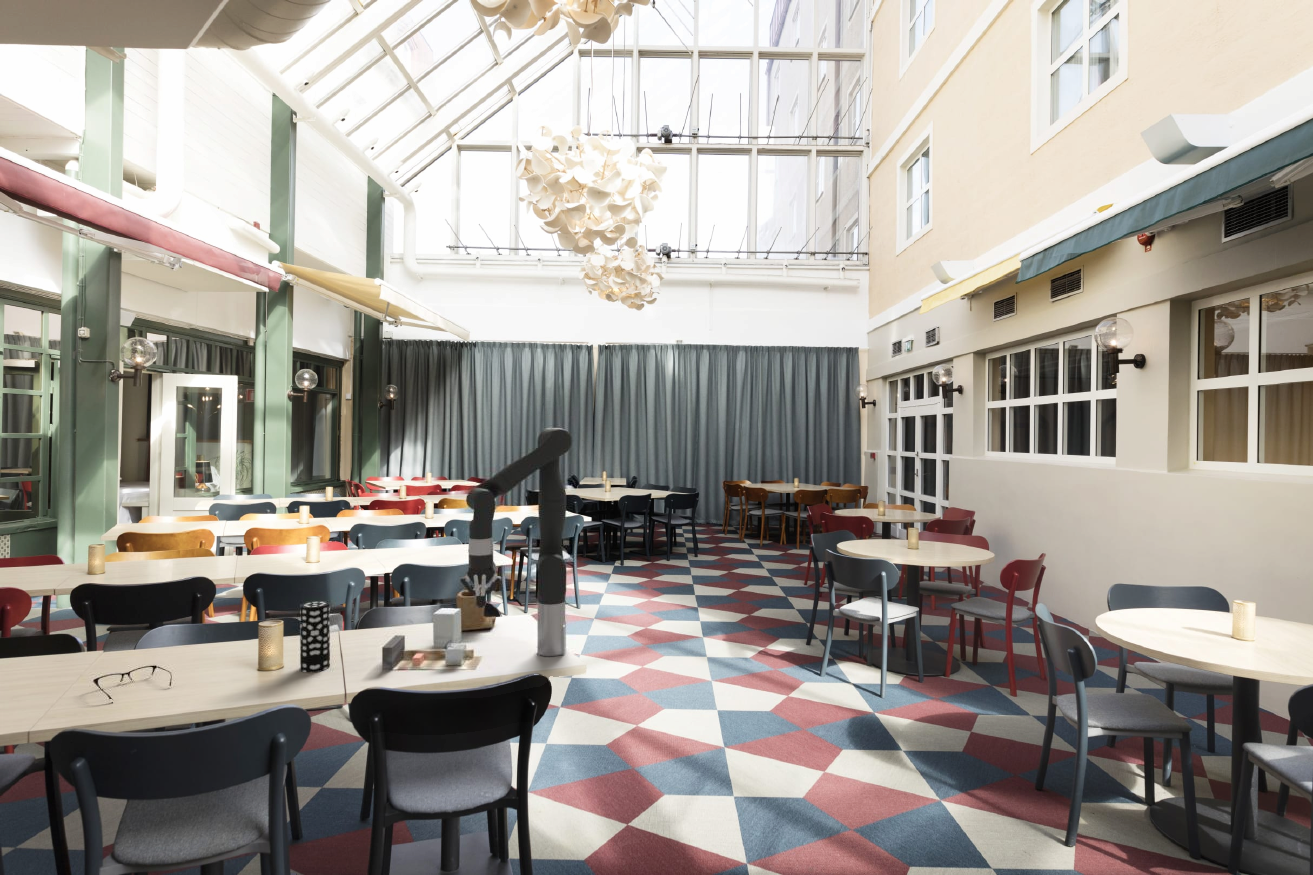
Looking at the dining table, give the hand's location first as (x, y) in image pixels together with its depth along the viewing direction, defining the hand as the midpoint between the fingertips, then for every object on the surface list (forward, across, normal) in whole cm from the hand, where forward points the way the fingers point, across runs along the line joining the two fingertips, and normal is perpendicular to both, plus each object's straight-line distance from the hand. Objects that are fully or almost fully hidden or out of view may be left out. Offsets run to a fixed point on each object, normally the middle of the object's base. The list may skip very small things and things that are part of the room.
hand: (481, 606), depth 218 cm
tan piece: (+19, +10, -41) cm, 46 cm away
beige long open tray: (+19, +15, 0) cm, 24 cm away
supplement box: (+19, +16, -20) cm, 32 cm away
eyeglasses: (+19, +96, +15) cm, 99 cm away
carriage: (+17, +8, 0) cm, 19 cm away
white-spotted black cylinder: (+19, +52, -1) cm, 55 cm away
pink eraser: (+17, +20, 0) cm, 26 cm away
